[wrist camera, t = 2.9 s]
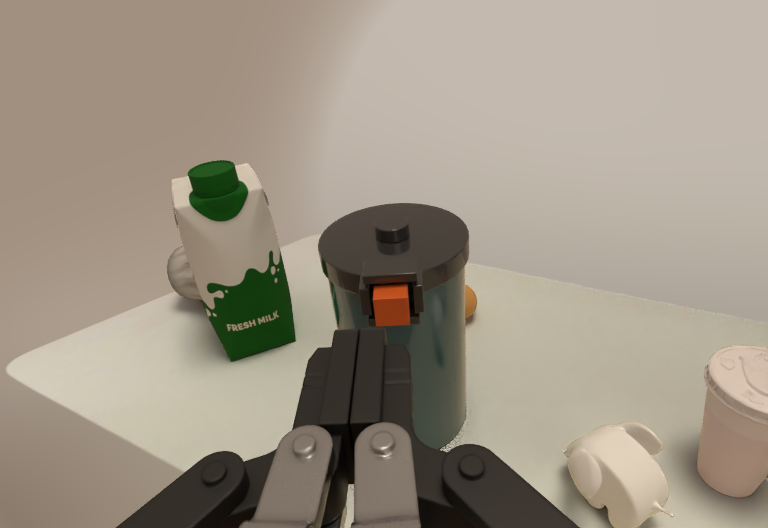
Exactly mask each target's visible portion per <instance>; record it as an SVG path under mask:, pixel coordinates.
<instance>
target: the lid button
mask: <svg viewBox="0 0 768 528" xmlns="http://www.w3.org/2000/svg"><path fill="white" fill-rule="evenodd" d="M373 305H374V313H375V321H376V326H395V325H410V308H409V296H408V285H407V284H399V285H382V286H374V292H373Z"/></svg>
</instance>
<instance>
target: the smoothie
mask: <svg viewBox="0 0 768 528" xmlns="http://www.w3.org/2000/svg"><path fill="white" fill-rule="evenodd" d="M704 378H705V381H706V384H707V386H708V388H707V394H706V402H705V409H704V416H703V423H702V430H701V438H700V445H699V452H698V459H697V470H698V473H699V475H700V476H701V478H702V479H703V480H704V481H705V482H706V483H707V484H708V485H709V486H710V487H712V488H713V489H715V490H716V491H718V492H720V493H722V494H725V495H728V496H731V497H747V496H749V495H751V494H753V493H754V492H755V490H756V489H757V488H758V487H759V485H760V484H761V483H762V482H763V481H764V479H765V478H766V477H767V476H768V349H767V348H763V347H757V346H747V345H738V346H729V347H725V348H722V349H720V350H718V351H716V352H715V353H714V354H713V355H712V356H711V357H710V359H709V362H708V365H707V366H706V367H705V373H704Z"/></svg>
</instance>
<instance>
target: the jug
mask: <svg viewBox="0 0 768 528" xmlns="http://www.w3.org/2000/svg"><path fill="white" fill-rule="evenodd" d="M318 250H319V255H320V261H321V266H322V270H323V272H324V274H325V275H326V277H327V278H328V281H329V286H330V292H331V297H332V303H333V308H334V314H335V319H336V325H337V330H344V329H360V330H361V329H362V328H381V327H385V329H386V336H387V345H388V344H404V346H405V348H406V349H407V351H408V352H409V354H410V357H411V369H412V381H413V396H414V433H415V435H416V436H417V438H418V439H419V440H420V441H421V442H422V443H424V444H425V445H427V446H429V447H431V448H433V449H436V450H438V449H440V448H442V447H443V446H445V445H446V444H448V443H449V442H450V441H451V440H453V438H454V437H455V436H456V435H457V434H458V433H459V431H460V430H461V428H462V426H463V424H464V421H465V417H466V343H465V265H466V263H467V260H468V257H469V231H468V229H467V226H466V225H465V223H464V222H463V221H462V220H461V219H460V218H459V217H458V216H456V215H455V214H453V213H451V212H449V211H446V210H444V209H441V208H438V207H434V206H429V205H423V204H413V203H398V204H385V205H379V206H374V207H369V208H365V209H362V210H358V211H356V212H353V213H350V214H348V215H346V216H344V217H342V218H340V219H338V220H337V221H335V222H334V223H332V224H331V225H330V226H329V227H328V228H327V229H326V230H325V231H324V232H323V234H322V235H321V237H320V239H319V244H318ZM399 284H407V285H408V296H409V308H410V325H395V326H376V321H375V313H374V305H373V292H374V286H382V285H399Z"/></svg>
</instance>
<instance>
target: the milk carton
mask: <svg viewBox="0 0 768 528" xmlns="http://www.w3.org/2000/svg"><path fill="white" fill-rule="evenodd" d="M171 195H172V204H173V210H174V216H175V221H176V225H177V227H178V225H179V230H180V235H181V239H182V243H183V247H184V250H185V253H186V256H187V259H188V261H189V264H190V267H191V270H192V273H193V276H194V279H195V281H196V284H197V287H198V290H199V293H200V296H201V298H202V301H203V304H204V307H205V310H206V312H207V315H208V317H209V320H210V322H211V324H212V326H213V328H214V329H215V331H216V333H217V335H218V337H219V339H220V341H221V343H222V345H223V347H224V349H225V351H226V353H227V354H228V356H229V358H230V360H231V362H232V361H235V360H238V359H241V358H244V357H247V356H250V355H253V354H256V353H259V352H262V351H265V350H268V349H271V348H274V347H277V346H280V345H283V344H286V343H289V342H292V341H295V332H294V323H293V313H292V304H291V297H290V292H289V287H288V282H287V278H286V273H285V269H284V265H283V261H282V256H281V252H280V248H279V244H278V239H277V235H276V232H275V228H274V224H273V220H272V217H271V214H270V211H269V208H268V205H269V203H268V199H267V196H266V194H265V192H264V190H263V188H262V186H261V184H260V182H259V180H258V178H257V176H256V174H255V172H254V170H253V169H251V167H250V166H249V164H248V163H246V164H241V165H236V166H235V165H234V163H233V162H231V161H224V160H223V161H222V160H220V161H212V162H207V163H203V164H200V165H198V166H195V167H194V168H192V169H190V170H189V172H188V176H187V177H182V178H177V179H173V180H172V188H171ZM267 204H268V205H267ZM175 210H176V214H177V219H178V222H177V219H176V215H175Z"/></svg>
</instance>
